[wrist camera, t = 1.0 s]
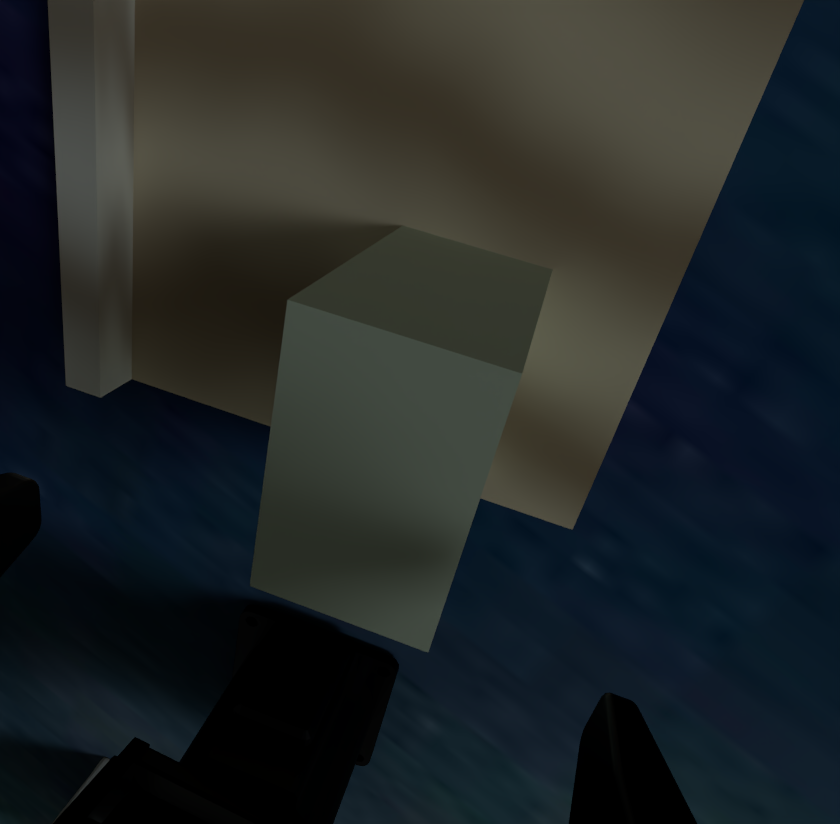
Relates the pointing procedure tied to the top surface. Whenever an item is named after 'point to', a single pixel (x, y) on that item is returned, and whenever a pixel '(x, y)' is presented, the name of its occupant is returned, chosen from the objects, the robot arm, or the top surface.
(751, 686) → the top surface
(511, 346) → the sage carton
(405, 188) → the beige shallow tray
